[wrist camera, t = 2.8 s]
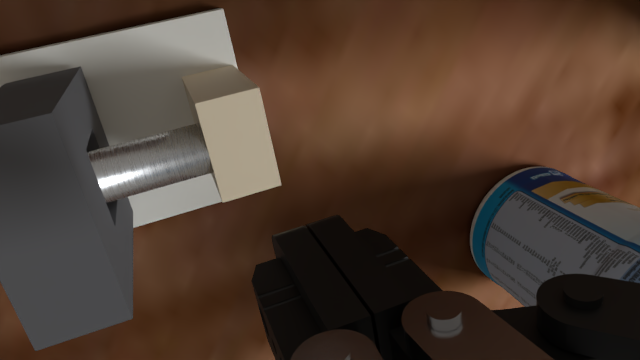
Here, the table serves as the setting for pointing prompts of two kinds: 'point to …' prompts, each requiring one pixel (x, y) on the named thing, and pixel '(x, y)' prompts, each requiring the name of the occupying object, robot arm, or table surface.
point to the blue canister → (552, 232)
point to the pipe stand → (170, 102)
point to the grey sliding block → (59, 213)
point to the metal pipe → (151, 162)
